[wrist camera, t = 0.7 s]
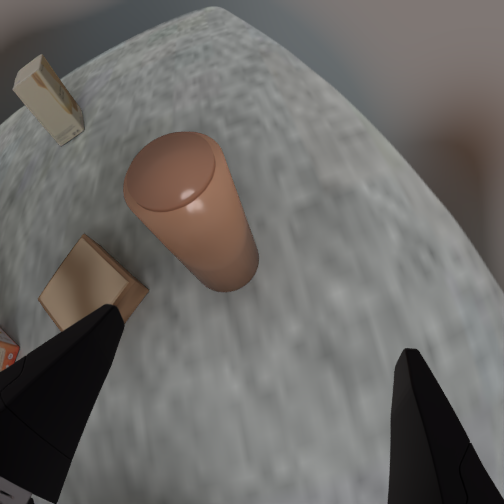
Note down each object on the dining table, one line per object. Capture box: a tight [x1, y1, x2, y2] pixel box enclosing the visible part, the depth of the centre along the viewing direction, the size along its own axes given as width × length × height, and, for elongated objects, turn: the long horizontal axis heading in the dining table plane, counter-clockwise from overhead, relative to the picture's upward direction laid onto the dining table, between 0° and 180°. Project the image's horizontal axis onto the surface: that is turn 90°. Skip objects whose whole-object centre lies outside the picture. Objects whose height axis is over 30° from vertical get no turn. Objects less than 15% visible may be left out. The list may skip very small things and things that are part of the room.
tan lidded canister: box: [123, 132, 259, 292], centre depth 21 cm, size 6×6×13 cm
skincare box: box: [13, 54, 84, 146], centre depth 33 cm, size 6×4×12 cm
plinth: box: [38, 234, 149, 332], centre depth 26 cm, size 8×8×3 cm
